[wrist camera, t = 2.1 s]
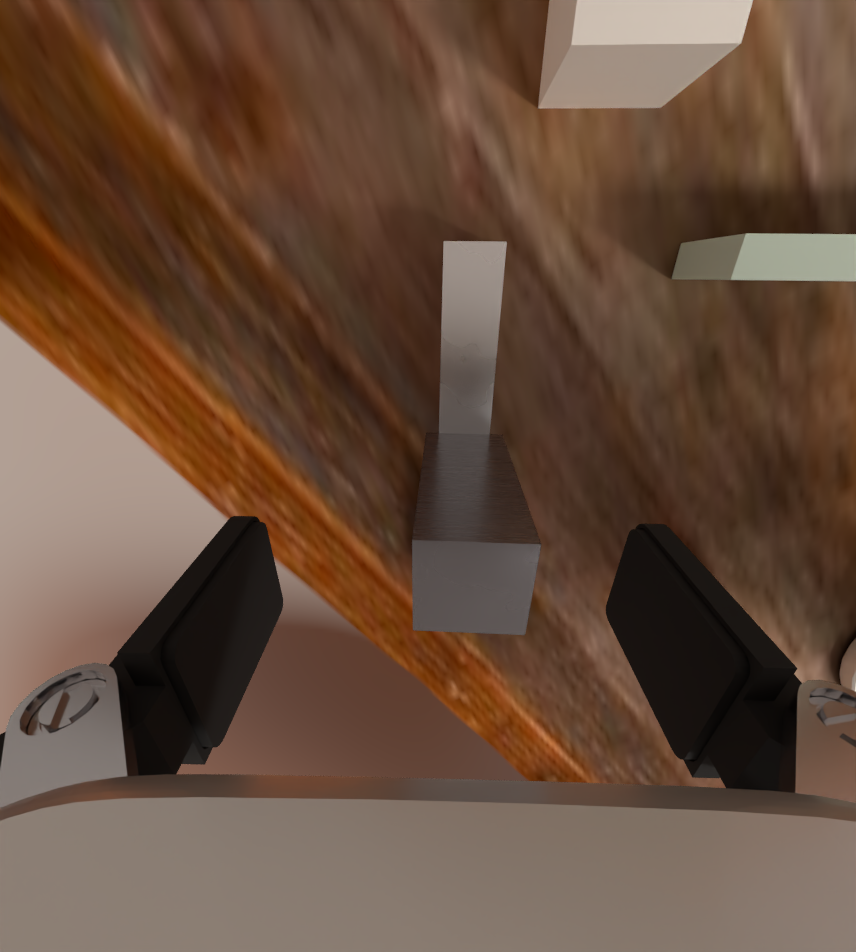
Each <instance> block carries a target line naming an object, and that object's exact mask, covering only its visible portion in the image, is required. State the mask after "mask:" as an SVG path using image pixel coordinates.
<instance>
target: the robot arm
mask: <svg viewBox="0 0 856 952" xmlns="http://www.w3.org/2000/svg"><path fill="white" fill-rule="evenodd" d="M282 607H283V597H282V593H281V588H280V584H279V579H278V575H277V571H276V566H275V562H274V557H273V553H272V549H271V544H270V540H269V536H268V531H267V527H266V525H265V523H263V522H260V521H259V519H258V518H257V517H252V516H233V517H231V518H230V519H229V520H228V521H227V522H226V524H225V525H224V526H223V527H222V528H221V529H220V531H219V532H218V533H217V534H216V535H215V537H214V538H213V539H212V540H211V541H210V543H209V544H208V545H207V546H206V547H205V549H204V550H203V551H202V552H201V553H200V555H199V556H198V557H197V558H196V559H195V561H194V562H193V563H192V564H191V565H190V567H189V568H188V569H187V570H186V571H185V572H184V574H183V575H182V576H181V577H180V579H179V580H178V581H177V582H176V583H175V584H174V586H173V587H172V588H171V589H170V590H169V592H168V593H167V594H166V595H165V596H164V598H163V599H162V600H161V601H160V602H159V603H158V605H157V606H156V607H155V608H154V609H153V611H152V612H151V613H150V614H149V615H148V617H147V618H146V619H145V620H144V621H143V623H142V624H141V625H140V626H139V627H138V629H137V630H136V631H135V632H134V633H133V634H132V636H131V637H130V638H129V639H128V640H127V642H126V643H125V644H124V645H123V646H122V648H121V649H120V650H119V651H118V655H117V656H116V657H115V658H114V660H113V661H112V662H111V663H110V665H109V666H108V665H107V664H99V663H92V664H85V665H80V666H77V667H74V668H72V669H69V670H66V671H64V672H62V673H60V674H58V675H56V676H54V677H52V678H50V679H49V680H47V681H46V682H45V683H43V684H42V685H40V686H39V687H38V688H36V689H35V690H33V691H32V692H31V693H30V694H29V695H28V696H27V697H26V698H25V699H24V700H23V701H22V702H21V703H20V704H19V705H18V707H17V708H16V710H15V711H14V712H13V714H12V715H11V717H10V720H9V722H8V725H7V728H6V732H4V733H3V734H1V735H0V952H856V638H855V639H854V640H853V642H852V643H851V644H850V645H849V647H848V649H847V651H846V653H845V655H844V656H843V658H842V663H841V667H840V672H839V673H840V681H841V685H842V686H841V685H838V684H836V683H832V682H827V681H822V680H809V681H806V682H804V683H803V684H802V683H801V682H800V681H799V679H798V678H797V677H796V676H795V675H794V673H795V671H796V670H797V668H796V666H795V665H794V664H793V663H792V662H791V661H790V660H789V659H788V658H787V657H786V655H785V654H784V653H783V652H782V651H781V650H780V649H779V648H778V647H777V646H776V644H775V643H774V642H773V641H772V640H771V639H770V638H769V637H768V636H767V635H766V634H765V632H764V631H763V630H762V629H761V628H760V627H759V626H758V625H757V624H756V623H755V621H754V620H753V619H752V618H751V617H750V616H749V615H748V614H747V613H746V612H745V610H744V609H743V608H742V607H741V606H740V605H739V604H738V603H737V602H736V601H735V599H734V598H733V597H732V596H731V595H730V594H729V593H728V592H727V591H726V590H725V589H724V587H723V586H722V585H721V584H720V583H719V582H718V581H717V580H716V579H715V578H714V576H713V575H712V574H711V573H710V572H709V571H708V570H707V569H706V568H705V567H704V565H703V564H702V563H701V562H700V561H699V560H698V559H697V558H696V557H695V556H694V555H693V553H692V552H691V551H690V550H689V549H688V548H687V547H686V546H685V545H684V544H683V542H682V541H681V540H680V539H679V538H678V537H677V536H676V535H675V534H674V533H673V531H672V530H671V529H670V528H669V527H668V526H666V525H664V524H639V525H638V526H637V527H636V529H633V530H631V531H630V532H629V535H628V538H627V541H626V544H625V547H624V551H623V554H622V557H621V560H620V563H619V566H618V570H617V573H616V576H615V579H614V582H613V586H612V589H611V592H610V595H609V598H608V601H607V605H606V615H607V618H608V621H609V623H610V625H611V627H612V629H613V631H614V633H615V635H616V637H617V639H618V641H619V643H620V645H621V647H622V649H623V651H624V653H625V655H626V657H627V659H628V661H629V663H630V665H631V667H632V670H633V672H634V674H635V676H636V678H637V680H638V682H639V684H640V686H641V688H642V690H643V692H644V694H645V696H646V698H647V700H648V702H649V704H650V706H651V708H652V710H653V712H654V714H655V716H656V718H657V720H658V722H659V724H660V726H661V728H662V730H663V732H664V734H665V736H666V738H667V740H668V742H669V744H670V746H671V748H672V750H673V752H674V754H675V755H676V756H677V757H678V758H679V759H683V760H684V762H685V764H686V766H687V768H688V769H689V771H690V773H691V775H692V777H697V778H721V780H722V781H723V783H724V785H725V787H726V788H710V787H690V786H664V785H633V784H602V783H571V782H538V781H502V780H501V781H500V780H466V779H463V780H462V779H426V778H388V777H342V776H340V777H339V776H293V775H292V776H291V775H207V774H192V775H189V774H186V775H185V774H184V775H183V774H182V775H179V774H178V775H177V774H176V773H177V771H178V770H179V768H180V766H181V764H205V763H206V761H207V759H208V756H209V754H210V752H211V750H212V748H213V747H218V746H219V745H220V744H221V742H222V741H223V739H224V737H225V735H226V733H227V730H228V728H229V726H230V724H231V721H232V719H233V717H234V715H235V713H236V710H237V708H238V706H239V704H240V702H241V700H242V697H243V695H244V693H245V691H246V688H247V686H248V684H249V682H250V680H251V678H252V675H253V673H254V671H255V669H256V667H257V664H258V662H259V660H260V658H261V656H262V653H263V651H264V649H265V647H266V644H267V642H268V640H269V638H270V636H271V633H272V631H273V629H274V627H275V625H276V622H277V620H278V618H279V616H280V614H281V611H282Z"/></svg>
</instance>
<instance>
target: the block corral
mask: <svg viewBox="0 0 856 952" xmlns="http://www.w3.org/2000/svg"><path fill="white" fill-rule="evenodd" d="M672 279H685V280H772V281H856V234H755V233H746V234H739V235H732V236H725V237H719V238H712V239H705V240H698V241H692V242H685V243H681V245H680V249H679V253H678V256H677V260H676V264H675V268H674V271H673V275H672Z"/></svg>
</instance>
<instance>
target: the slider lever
mask: <svg viewBox="0 0 856 952" xmlns="http://www.w3.org/2000/svg"><path fill="white" fill-rule="evenodd" d="M506 246H507V242H496V241H444V244H443V285H442V325H441V366H440V406H439V433H426V438H425V446H424V453H423V461H422V469H421V476H420V484H419V491H418V499H417V506H416V514H415V522H414V529H413V537H412V581H413V630H421V631H444V632H468V633H491V634H515V635H525V632H526V626H527V621H528V615H529V610H530V604H531V599H532V593H533V588H534V582H535V577H536V571H537V566H538V560H539V555H540V549H541V542H540V539H539V537H538V534H537V531H536V528H535V525H534V523H533V520H532V517H531V514H530V511H529V508H528V506H527V503H526V500H525V497H524V494H523V492H522V489H521V486H520V483H519V480H518V477H517V475H516V472H515V469H514V466H513V463H512V461H511V458H510V455H509V452H508V449H507V446H506V444H505V441H504V438H503V435H492V434H490V424H491V413H492V402H493V391H494V380H495V368H496V357H497V346H498V335H499V324H500V313H501V301H502V290H503V279H504V268H505V257H506Z"/></svg>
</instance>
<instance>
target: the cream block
mask: <svg viewBox="0 0 856 952" xmlns="http://www.w3.org/2000/svg"><path fill="white" fill-rule="evenodd" d="M752 2H753V0H549V9H548V18H547V27H546V37H545V46H544V55H543V65H542V74H541V83H540V93H539V102H538V108H661V107H662V106H664V105H665V104H666V103H667V102H669V101H670V100H671V99H672V98H674V97H675V96H676V95H677V94H679V93H680V92H681V91H682V90H684V89H685V88H686V87H687V86H689V85H690V84H691V83H692V82H694V81H695V80H696V79H697V78H699V77H700V76H701V75H702V74H704V73H705V72H706V71H707V70H709V69H710V68H711V67H712V66H714V65H715V64H716V63H717V62H719V61H720V60H721V59H722V58H723V57H725V56H726V55H727V54H728V53H730V52H731V51H732V50H733V49H735V48H736V47H737V46H738V45H740V44H741V42H742V39H743V35H744V31H745V28H746V24H747V20H748V17H749V13H750V10H751V6H752Z"/></svg>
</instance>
